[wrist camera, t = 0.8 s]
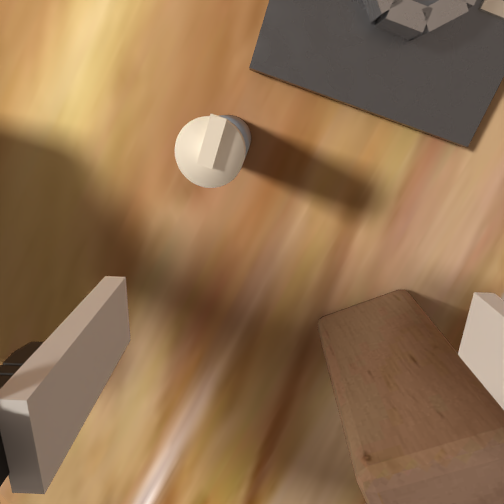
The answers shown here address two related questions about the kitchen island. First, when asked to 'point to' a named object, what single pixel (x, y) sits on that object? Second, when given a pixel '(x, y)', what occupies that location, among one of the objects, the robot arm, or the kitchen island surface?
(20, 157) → the kitchen island surface
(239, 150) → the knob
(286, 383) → the kitchen island surface
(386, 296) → the wooden block
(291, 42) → the base plate
